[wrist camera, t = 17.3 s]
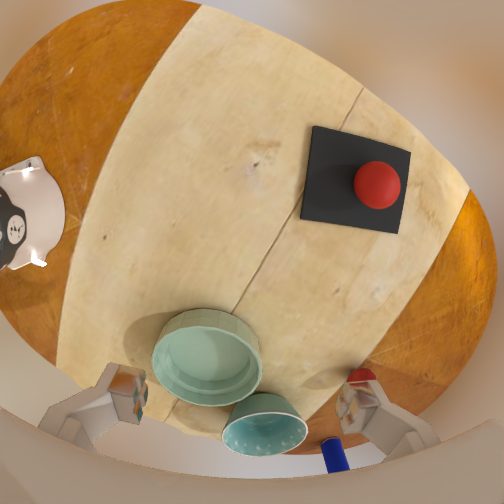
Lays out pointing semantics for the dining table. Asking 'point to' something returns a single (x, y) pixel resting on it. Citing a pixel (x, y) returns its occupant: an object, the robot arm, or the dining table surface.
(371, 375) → the onion
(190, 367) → the fruit bowl
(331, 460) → the beverage can
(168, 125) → the dining table surface
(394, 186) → the red ball
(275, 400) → the bowl
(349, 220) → the mat
